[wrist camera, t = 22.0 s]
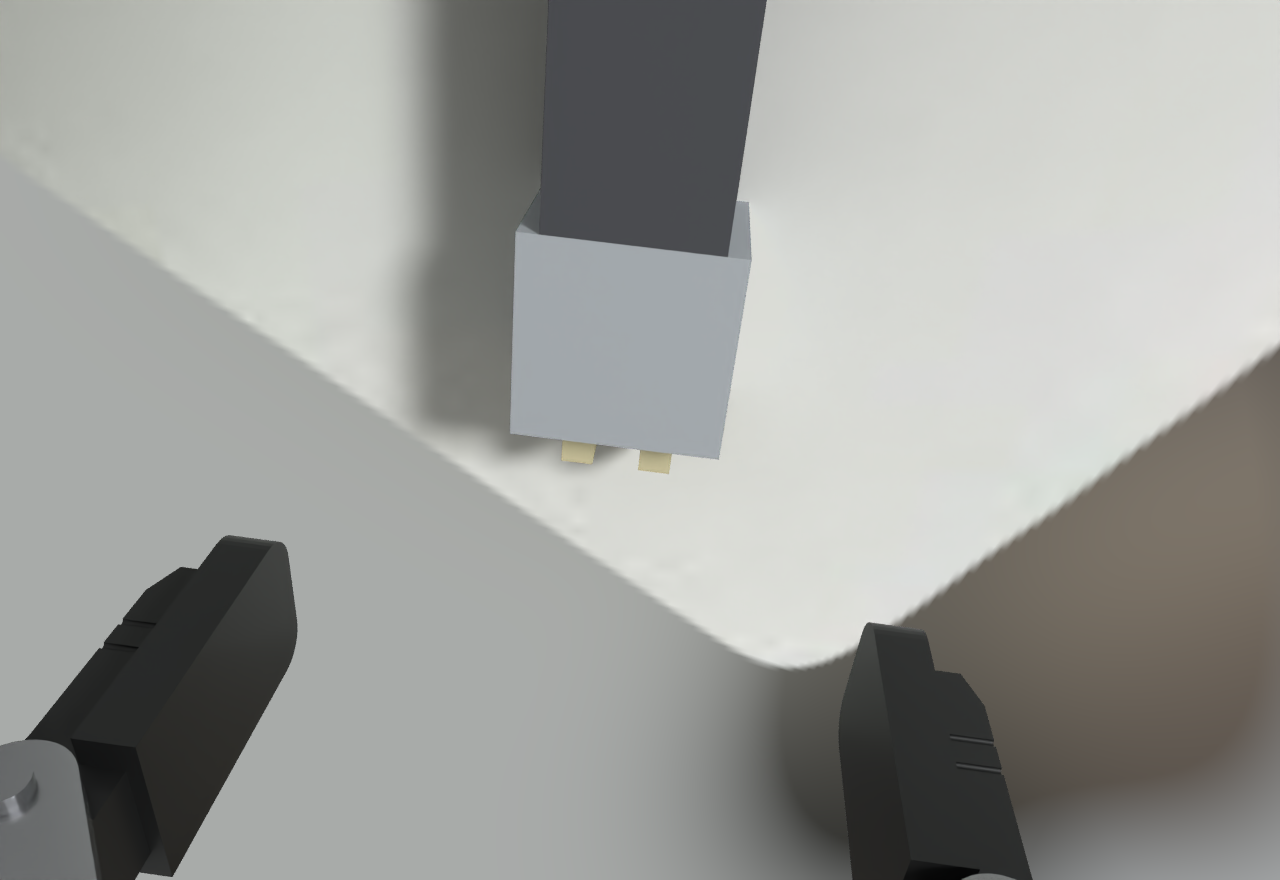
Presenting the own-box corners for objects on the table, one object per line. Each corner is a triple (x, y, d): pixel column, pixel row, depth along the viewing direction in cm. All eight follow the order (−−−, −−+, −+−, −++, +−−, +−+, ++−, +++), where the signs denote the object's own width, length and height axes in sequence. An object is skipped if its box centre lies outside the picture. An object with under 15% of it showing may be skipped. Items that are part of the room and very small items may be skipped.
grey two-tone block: (890, -697, 16) (935, -853, 12) (713, 428, 27) (710, 510, 23) (586, -728, 16) (546, -889, 12) (536, 405, 27) (508, 485, 24)
